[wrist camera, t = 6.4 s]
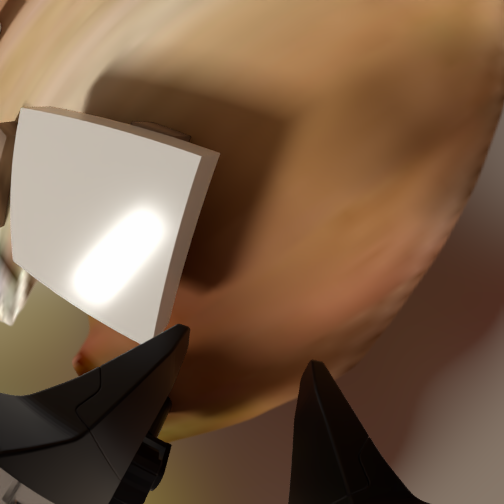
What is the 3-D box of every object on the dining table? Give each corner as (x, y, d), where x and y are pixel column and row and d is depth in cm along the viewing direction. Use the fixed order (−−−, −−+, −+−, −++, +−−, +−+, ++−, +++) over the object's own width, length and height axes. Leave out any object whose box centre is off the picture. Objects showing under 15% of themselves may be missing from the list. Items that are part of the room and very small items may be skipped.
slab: (168, 322, 19) (150, 349, 16) (36, 247, 19) (13, 260, 16) (220, 153, 14) (201, 156, 11) (50, 106, 14) (21, 107, 11)
